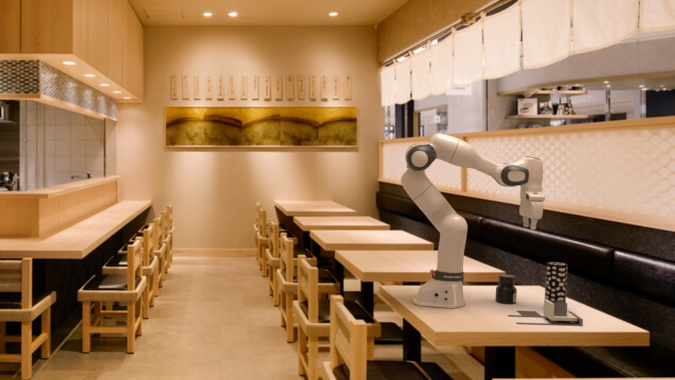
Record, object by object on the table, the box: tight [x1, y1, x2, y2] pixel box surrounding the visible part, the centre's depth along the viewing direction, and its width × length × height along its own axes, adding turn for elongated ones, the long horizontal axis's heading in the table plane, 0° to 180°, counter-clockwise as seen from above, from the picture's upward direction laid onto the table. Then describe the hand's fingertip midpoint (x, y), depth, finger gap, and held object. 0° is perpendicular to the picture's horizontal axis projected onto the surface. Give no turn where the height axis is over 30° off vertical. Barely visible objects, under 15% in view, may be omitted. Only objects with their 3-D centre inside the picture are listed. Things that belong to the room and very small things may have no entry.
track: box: [507, 310, 584, 327], centre depth 250 cm, size 25×12×3 cm, turn 90°
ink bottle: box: [494, 274, 518, 305], centre depth 282 cm, size 10×9×12 cm
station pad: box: [516, 310, 542, 316], centre depth 262 cm, size 8×8×1 cm
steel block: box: [552, 301, 568, 316], centre depth 250 cm, size 4×4×5 cm
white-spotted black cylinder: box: [544, 261, 568, 303], centre depth 269 cm, size 8×8×20 cm
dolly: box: [542, 298, 577, 324], centre depth 250 cm, size 10×9×8 cm
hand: (529, 228), depth 271 cm, fingers open, 8 cm apart
